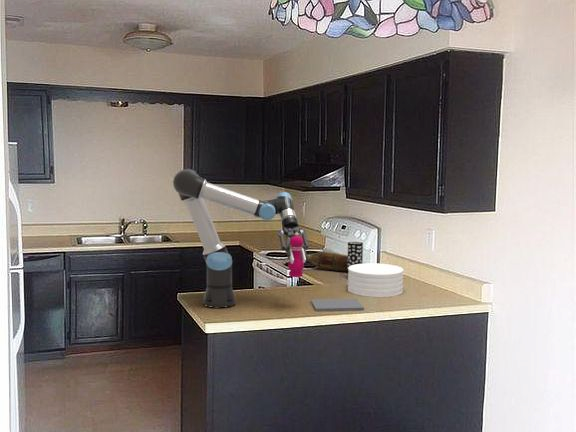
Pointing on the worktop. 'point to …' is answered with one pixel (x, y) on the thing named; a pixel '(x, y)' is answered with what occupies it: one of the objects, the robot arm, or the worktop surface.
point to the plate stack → (375, 280)
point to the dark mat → (336, 304)
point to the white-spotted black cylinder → (354, 254)
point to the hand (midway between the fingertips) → (298, 261)
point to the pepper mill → (296, 257)
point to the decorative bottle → (328, 260)
